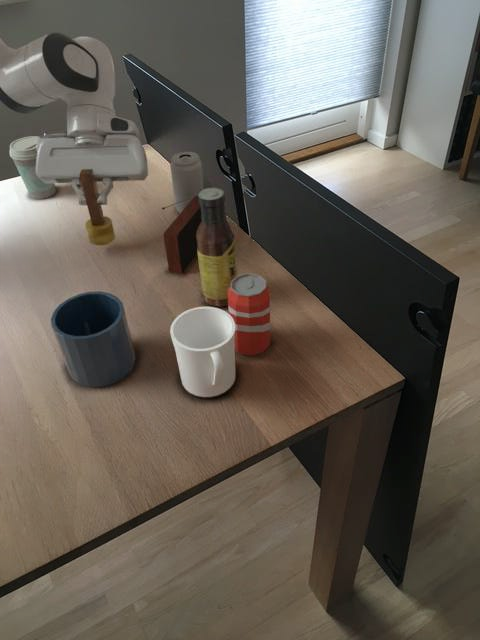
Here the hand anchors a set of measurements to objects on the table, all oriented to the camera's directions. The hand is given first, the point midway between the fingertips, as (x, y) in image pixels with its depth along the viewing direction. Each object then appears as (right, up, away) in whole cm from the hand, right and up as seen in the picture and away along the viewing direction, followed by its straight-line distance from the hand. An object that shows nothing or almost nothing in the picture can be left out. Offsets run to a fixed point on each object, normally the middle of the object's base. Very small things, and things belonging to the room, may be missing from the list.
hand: (93, 204), depth 99 cm
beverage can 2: (+29, -25, -14) cm, 41 cm away
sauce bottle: (+24, -17, -5) cm, 30 cm away
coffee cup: (-19, +8, +26) cm, 33 cm away
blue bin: (+6, -28, -16) cm, 32 cm away
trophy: (0, -5, +6) cm, 8 cm away
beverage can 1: (+16, +2, +18) cm, 24 cm away
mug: (+23, -31, -20) cm, 43 cm away
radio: (+18, -8, +6) cm, 20 cm away
